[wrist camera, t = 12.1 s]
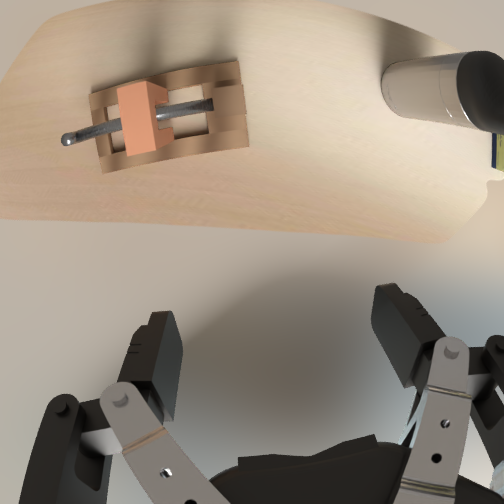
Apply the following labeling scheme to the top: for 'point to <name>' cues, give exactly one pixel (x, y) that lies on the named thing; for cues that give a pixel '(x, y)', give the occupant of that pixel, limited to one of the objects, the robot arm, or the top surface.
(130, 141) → the salmon wooden arch
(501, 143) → the protein box
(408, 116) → the robot arm
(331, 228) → the top surface
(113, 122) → the hook arm
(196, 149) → the wooden hook stand
